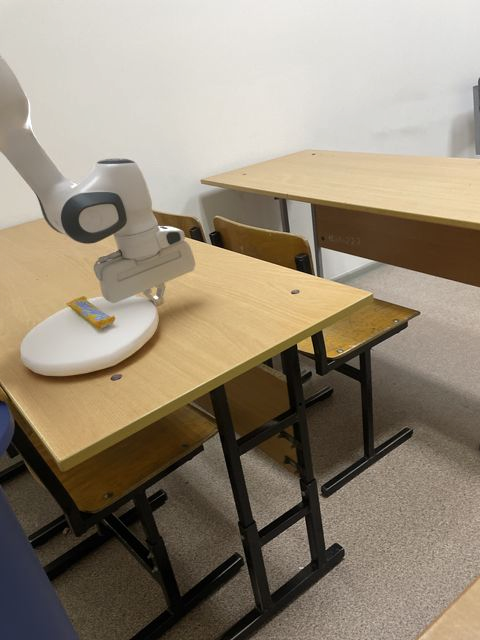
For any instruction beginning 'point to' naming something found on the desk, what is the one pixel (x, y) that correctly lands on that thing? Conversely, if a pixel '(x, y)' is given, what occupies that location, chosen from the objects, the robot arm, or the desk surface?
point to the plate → (89, 338)
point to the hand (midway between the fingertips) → (158, 305)
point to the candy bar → (90, 312)
